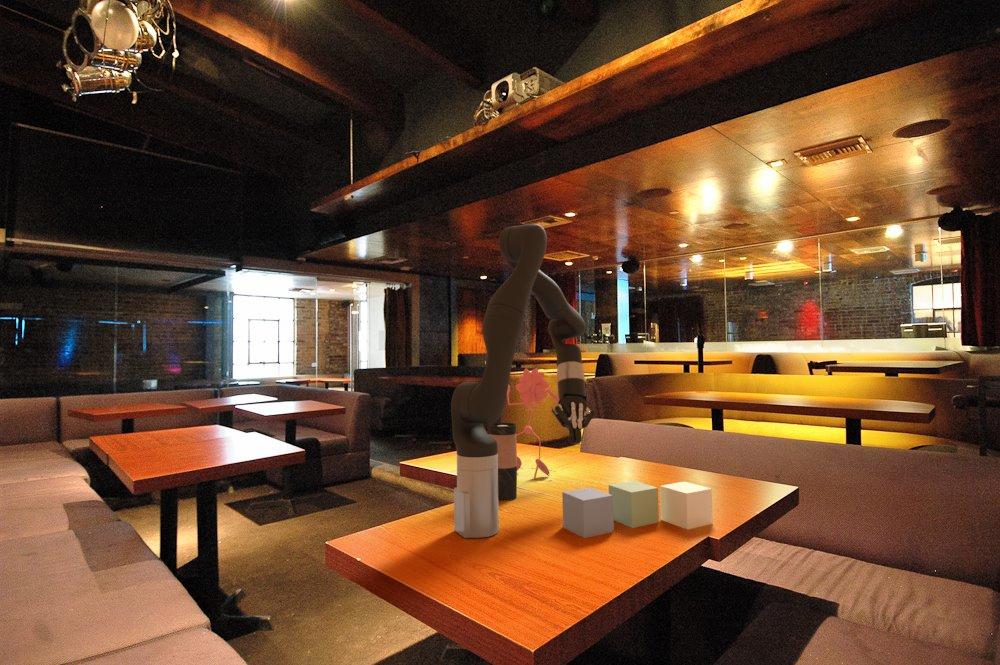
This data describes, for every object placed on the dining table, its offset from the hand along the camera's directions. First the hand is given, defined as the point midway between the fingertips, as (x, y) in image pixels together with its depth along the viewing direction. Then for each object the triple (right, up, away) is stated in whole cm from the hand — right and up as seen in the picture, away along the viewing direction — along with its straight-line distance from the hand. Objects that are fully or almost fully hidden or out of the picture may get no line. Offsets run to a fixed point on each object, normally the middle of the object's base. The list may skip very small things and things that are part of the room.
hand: (576, 443), depth 134 cm
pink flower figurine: (-9, -18, +36) cm, 41 cm away
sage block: (+12, -15, -14) cm, 23 cm away
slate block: (0, -15, -20) cm, 25 cm away
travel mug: (-19, -17, +8) cm, 26 cm away
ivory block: (+23, -15, -15) cm, 32 cm away
